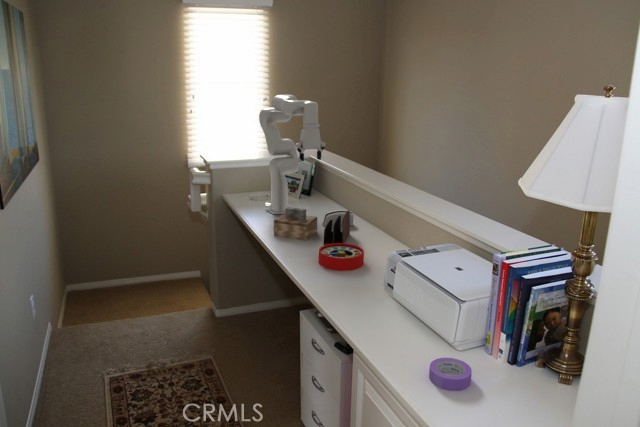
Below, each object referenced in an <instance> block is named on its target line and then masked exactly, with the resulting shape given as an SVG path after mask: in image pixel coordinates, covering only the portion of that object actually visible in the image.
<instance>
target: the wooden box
mask: <svg viewBox="0 0 640 427" xmlns="http://www.w3.org/2000/svg"><path fill="white" fill-rule="evenodd" d="M317 233H318V219H317V220H315V221H314V222H313V223H311V224H310V225H309V226H299V225H292V224H284V223H276V222H274V221H273V236H274V237H279V238H285V239H286V238H287V239H292V240H302V241H308V240H310V239H311V238H312V237H313V236H315V235H316V234H317Z"/></svg>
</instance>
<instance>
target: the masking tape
mask: <svg viewBox="0 0 640 427" xmlns="http://www.w3.org/2000/svg"><path fill="white" fill-rule="evenodd" d="M447 372H448V373H453V374H455V375H452V374H451V375H450V374H446V373H447ZM472 374H473V370H472V368H471V366H470V365H469V364H468V363H466V362H465V361H463V360H460V359H457V358H453V357H440V358H436V359H434V360H432V361H431V362H430V363H429V374H428V378H429V381H430V382H431V384H433V385H434V386H435V387H438V388H439V389H442V390H445V391H451V392H458V391H459V392H460V391H463V390H466V389H468V388H469V387H470V386H471V384H472Z"/></svg>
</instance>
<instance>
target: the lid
mask: <svg viewBox="0 0 640 427" xmlns="http://www.w3.org/2000/svg"><path fill="white" fill-rule="evenodd" d="M315 220H317V221H318V216H315V215H313V216H312V215H307V208H299V207H291V206H290V207H289V206H288V207H287V208H286V213H284V214H280V215H279V216H278V217H277V218H275V219H273V223H274V222H276V223H284V224H292V225H299V226H309V225H310V224H311V223H313V222H314V221H315Z"/></svg>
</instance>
